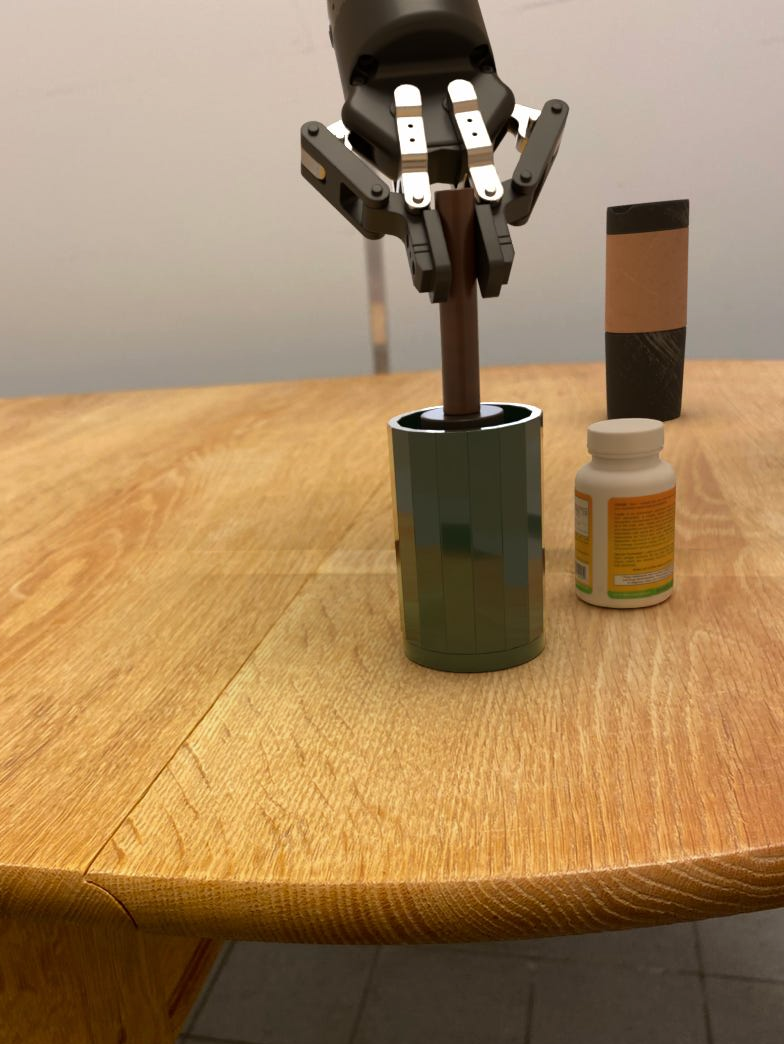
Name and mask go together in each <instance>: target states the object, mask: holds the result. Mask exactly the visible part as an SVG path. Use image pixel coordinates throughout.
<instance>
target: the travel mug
mask: <svg viewBox="0 0 784 1044" xmlns="http://www.w3.org/2000/svg"><path fill="white" fill-rule="evenodd" d="M605 220H606V222H605V224H606V225H605V227H606V228H605V234H606V235H605V280H604V281H605V283H604V284H605V285H604V286H605V287H604V290H605V291H604V292H605V293H604V350H605V351H604V354H605V355H604V357H605V393H606V395H605V396H606V416H607V420H613V419H627V418H643V419H653V420H658V421H661V422H664V421H669V420H673V419H676V418H678V417H680V416H681V414H682V403H683V389H684V388H683V387H684V374H685V373H684V372H685V358H686V342H687V325H688V324H687V323H688V321H687V320H688V289H689V288H688V286H689V285H688V284H689V283H688V281H689V246H690V245H689V239H690V236H689V235H690V233H689V232H690V227H689V226H690V199H689V198H682V199H681V198H679V199H670V200H661V201H648V202H640V203H631V204H630V203H629V204H621V205H614V206H613V205H612V206H607V207H606V218H605Z"/></svg>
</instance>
